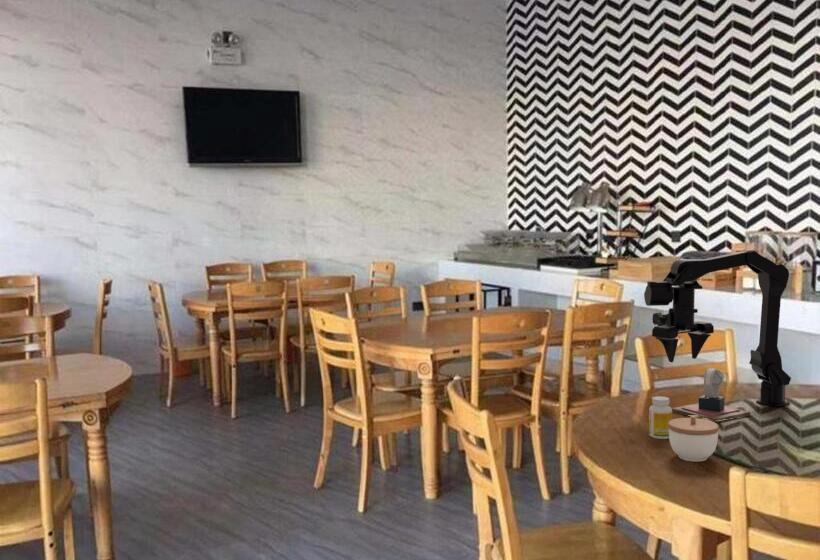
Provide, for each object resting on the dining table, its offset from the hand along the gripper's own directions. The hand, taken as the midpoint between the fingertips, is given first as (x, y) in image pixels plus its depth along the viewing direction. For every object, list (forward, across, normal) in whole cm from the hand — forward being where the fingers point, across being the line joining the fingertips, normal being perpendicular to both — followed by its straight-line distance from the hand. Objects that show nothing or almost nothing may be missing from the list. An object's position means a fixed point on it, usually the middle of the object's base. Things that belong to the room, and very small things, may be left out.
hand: (682, 360), depth 221 cm
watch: (+12, 0, +10) cm, 15 cm away
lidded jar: (+14, +34, +33) cm, 49 cm away
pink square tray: (+13, 0, +10) cm, 16 cm away
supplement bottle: (+14, +27, +17) cm, 35 cm away
